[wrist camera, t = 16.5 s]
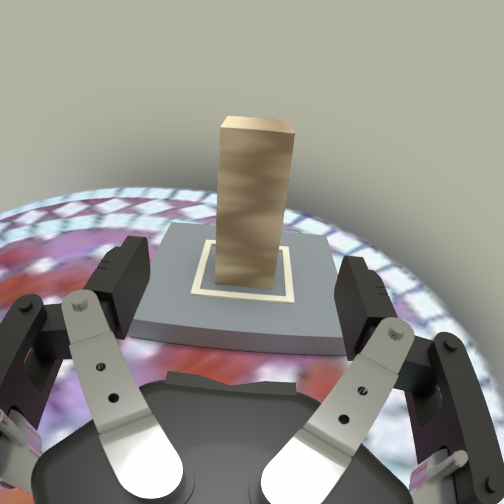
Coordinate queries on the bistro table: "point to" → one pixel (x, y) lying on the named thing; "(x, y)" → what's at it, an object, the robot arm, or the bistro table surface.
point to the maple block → (251, 199)
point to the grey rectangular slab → (241, 298)
